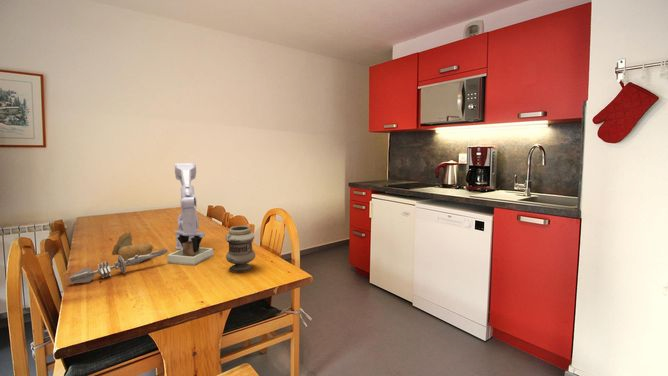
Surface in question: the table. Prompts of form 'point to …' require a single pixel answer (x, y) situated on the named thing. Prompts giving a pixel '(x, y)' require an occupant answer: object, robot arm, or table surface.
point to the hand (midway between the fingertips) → (190, 251)
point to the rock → (122, 242)
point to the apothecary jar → (240, 248)
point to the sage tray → (186, 260)
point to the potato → (135, 250)
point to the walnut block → (189, 249)
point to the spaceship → (110, 267)
